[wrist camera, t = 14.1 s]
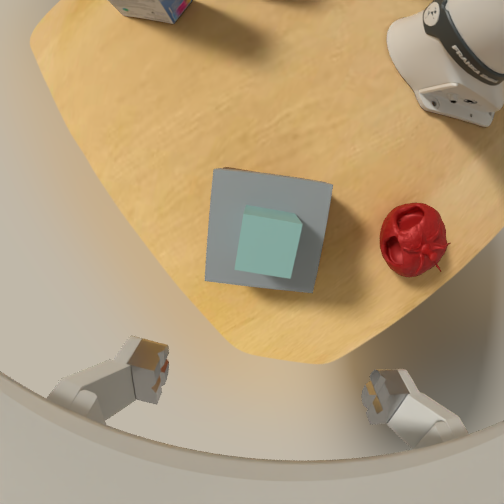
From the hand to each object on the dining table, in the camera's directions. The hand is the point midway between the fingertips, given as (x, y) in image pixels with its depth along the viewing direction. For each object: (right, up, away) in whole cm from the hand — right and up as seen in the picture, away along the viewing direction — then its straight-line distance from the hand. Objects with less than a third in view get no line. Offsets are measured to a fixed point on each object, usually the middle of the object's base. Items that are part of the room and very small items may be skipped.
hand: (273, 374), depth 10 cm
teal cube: (+1, +7, +19) cm, 20 cm away
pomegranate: (+21, +7, +26) cm, 34 cm away
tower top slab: (+1, +8, +23) cm, 24 cm away
